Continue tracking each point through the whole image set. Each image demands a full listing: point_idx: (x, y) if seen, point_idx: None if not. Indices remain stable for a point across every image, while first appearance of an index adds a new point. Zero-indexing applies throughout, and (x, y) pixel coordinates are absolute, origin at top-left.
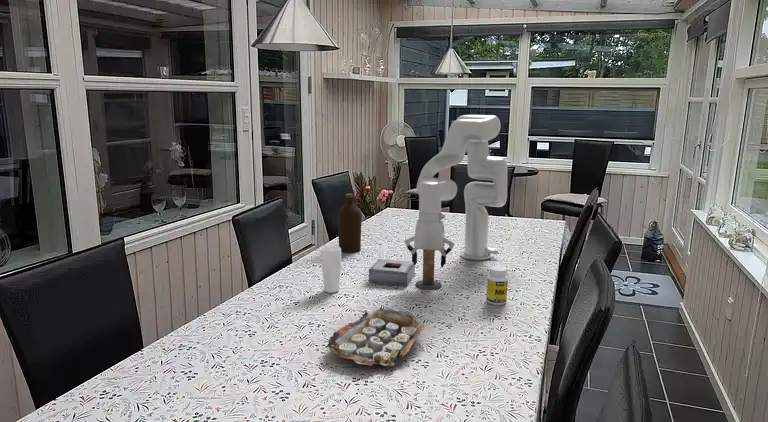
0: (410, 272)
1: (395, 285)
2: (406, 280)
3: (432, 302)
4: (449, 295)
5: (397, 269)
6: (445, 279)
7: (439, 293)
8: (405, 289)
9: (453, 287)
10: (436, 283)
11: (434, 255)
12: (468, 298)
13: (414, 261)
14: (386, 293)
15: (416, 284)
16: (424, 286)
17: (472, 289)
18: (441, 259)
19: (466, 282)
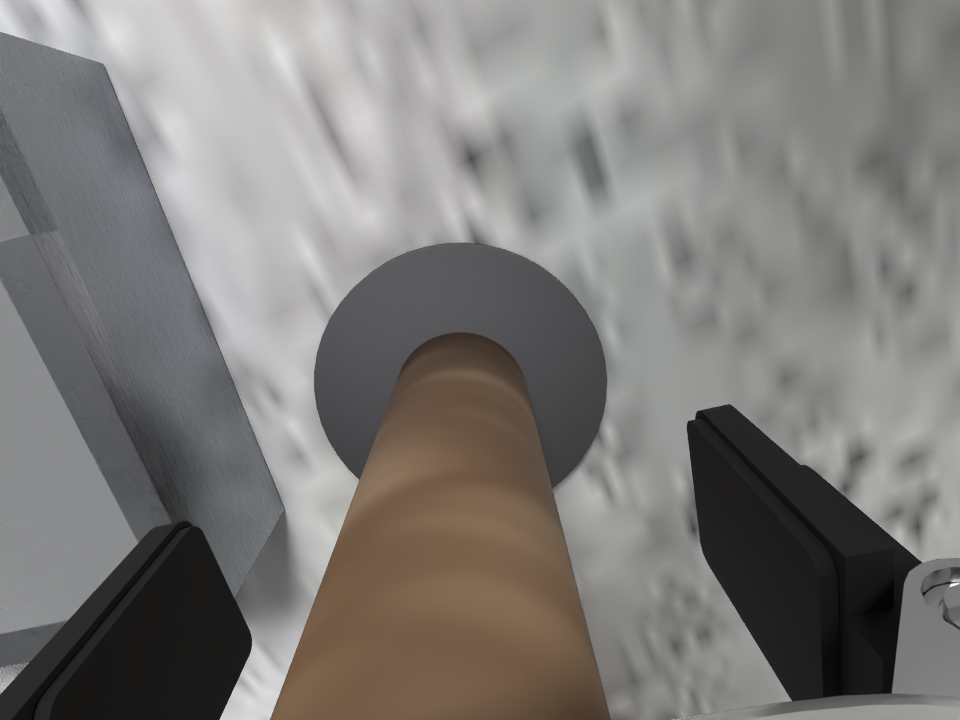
0: (164, 401)
1: None
2: (252, 551)
3: (649, 715)
4: None
5: (14, 565)
6: (567, 60)
7: (644, 531)
8: (314, 577)
9: (737, 311)
10: (540, 339)
11: (603, 691)
12: (928, 526)
13: (212, 710)
14: (231, 713)
15: (355, 466)
16: None
17: (956, 273)
18: (790, 674)
19: (864, 43)
